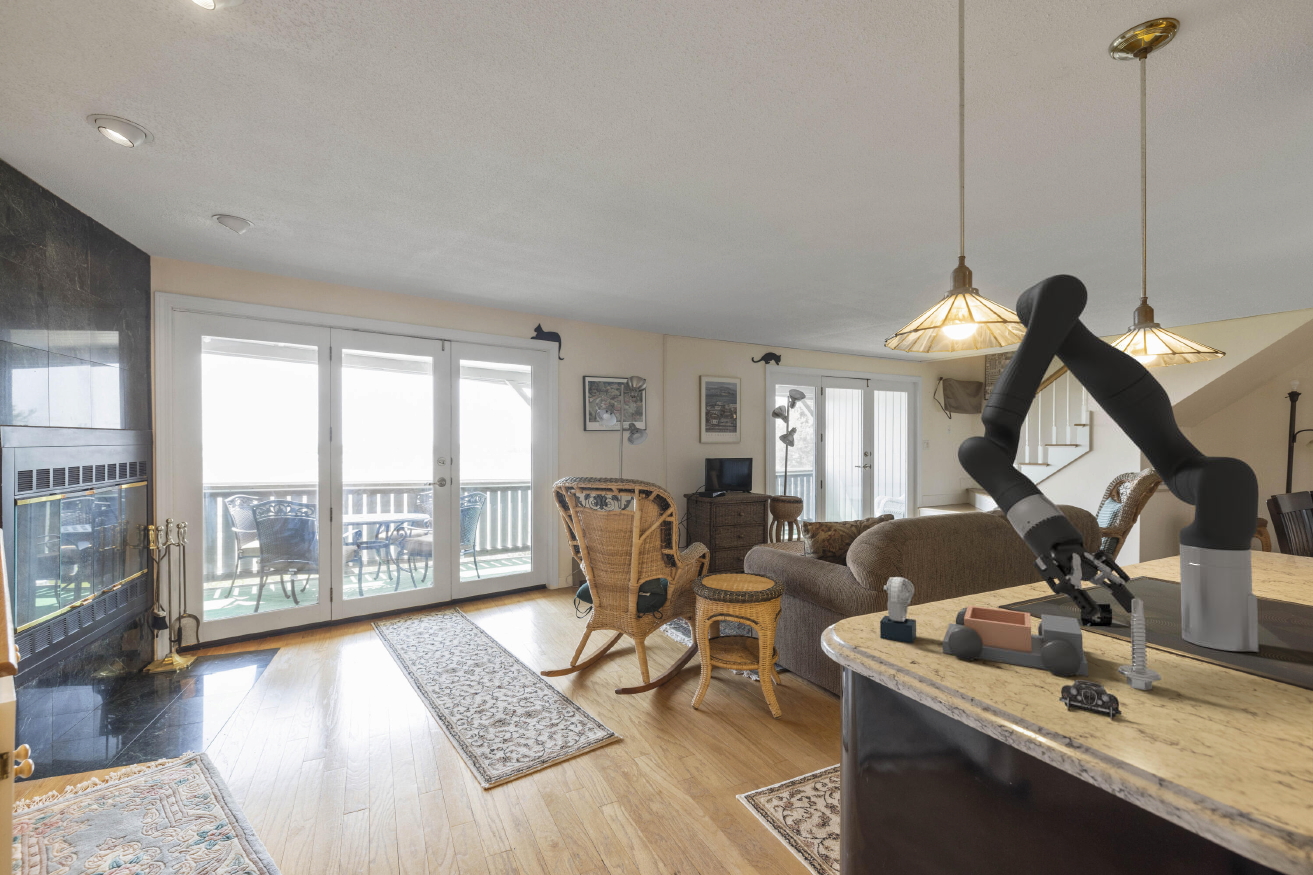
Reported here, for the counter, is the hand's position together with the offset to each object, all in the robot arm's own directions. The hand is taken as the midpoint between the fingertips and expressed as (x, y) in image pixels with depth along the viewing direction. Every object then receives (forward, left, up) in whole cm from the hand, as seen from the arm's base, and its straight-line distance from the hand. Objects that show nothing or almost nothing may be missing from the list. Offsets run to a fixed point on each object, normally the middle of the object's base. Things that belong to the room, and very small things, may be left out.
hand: (1116, 612), depth 88 cm
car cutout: (+1, +16, -11) cm, 19 cm away
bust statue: (+32, -4, -10) cm, 34 cm away
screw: (-2, +2, -10) cm, 11 cm away
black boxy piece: (-1, -34, -11) cm, 36 cm away
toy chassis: (+14, -5, -10) cm, 18 cm away
